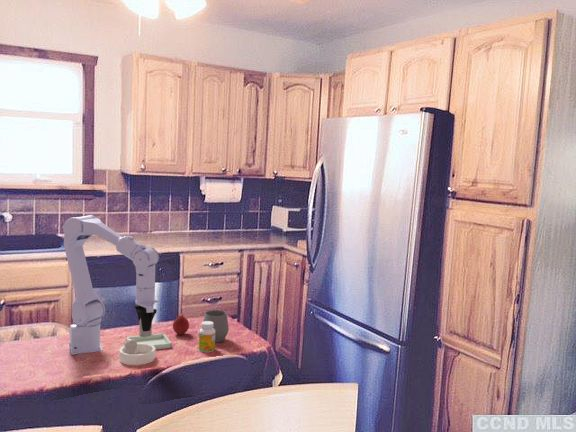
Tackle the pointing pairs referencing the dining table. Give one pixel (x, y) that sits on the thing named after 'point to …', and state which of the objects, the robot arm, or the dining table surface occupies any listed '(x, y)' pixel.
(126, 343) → the stone
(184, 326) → the onion
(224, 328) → the cup
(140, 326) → the stone
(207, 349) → the supplement bottle
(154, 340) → the tray
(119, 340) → the dining table surface
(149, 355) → the bowl
